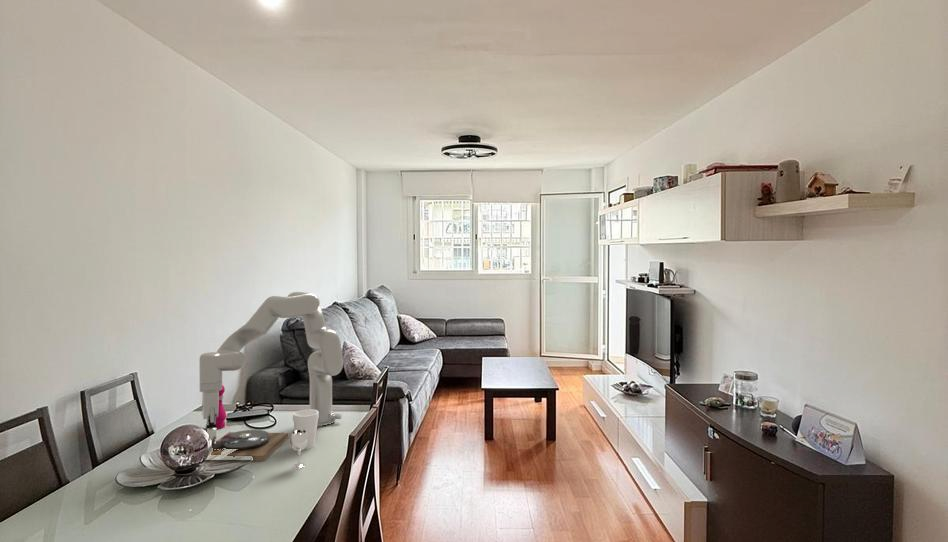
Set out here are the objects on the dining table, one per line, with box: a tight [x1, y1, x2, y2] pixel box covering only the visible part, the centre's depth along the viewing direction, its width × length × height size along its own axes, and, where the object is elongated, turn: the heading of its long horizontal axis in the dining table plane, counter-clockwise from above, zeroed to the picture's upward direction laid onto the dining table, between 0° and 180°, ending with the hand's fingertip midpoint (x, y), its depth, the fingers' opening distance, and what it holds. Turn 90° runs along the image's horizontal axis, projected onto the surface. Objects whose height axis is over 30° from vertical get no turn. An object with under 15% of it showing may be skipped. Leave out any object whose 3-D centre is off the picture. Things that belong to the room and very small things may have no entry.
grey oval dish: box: [207, 427, 270, 449], centre depth 193 cm, size 22×17×7 cm
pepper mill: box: [216, 384, 227, 430], centre depth 218 cm, size 7×7×20 cm
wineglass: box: [289, 430, 308, 470], centre depth 178 cm, size 6×6×12 cm
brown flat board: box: [211, 431, 289, 462], centre depth 194 cm, size 26×24×2 cm
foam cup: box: [292, 408, 319, 450], centre depth 197 cm, size 10×9×13 cm
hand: (211, 434), depth 191 cm, fingers closed
